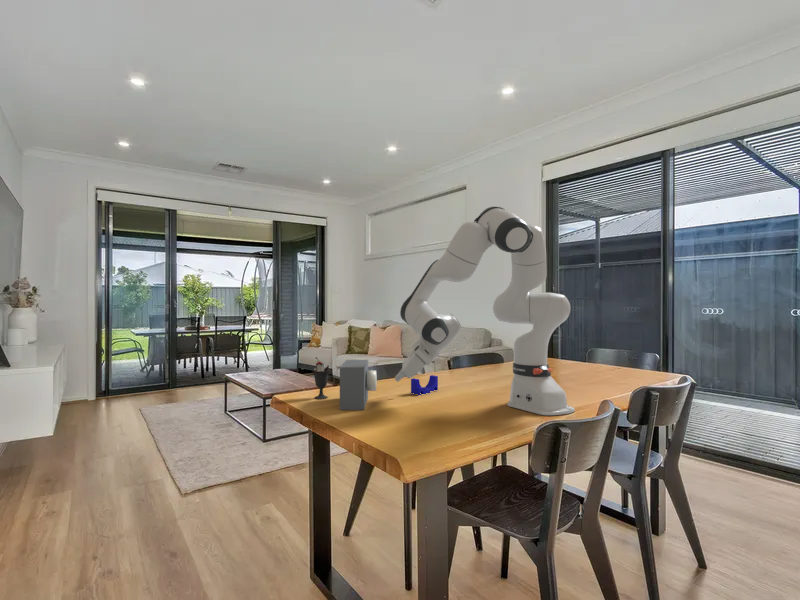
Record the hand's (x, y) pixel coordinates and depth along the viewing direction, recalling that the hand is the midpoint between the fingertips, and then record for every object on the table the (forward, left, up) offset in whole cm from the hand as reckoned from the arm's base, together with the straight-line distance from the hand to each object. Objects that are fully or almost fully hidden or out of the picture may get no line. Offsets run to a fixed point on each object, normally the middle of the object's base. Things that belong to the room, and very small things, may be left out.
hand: (396, 379), depth 151 cm
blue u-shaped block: (+11, -18, -9) cm, 22 cm away
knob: (+4, +11, -4) cm, 12 cm away
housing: (+5, +14, -8) cm, 17 cm away
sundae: (+18, +22, -8) cm, 30 cm away
